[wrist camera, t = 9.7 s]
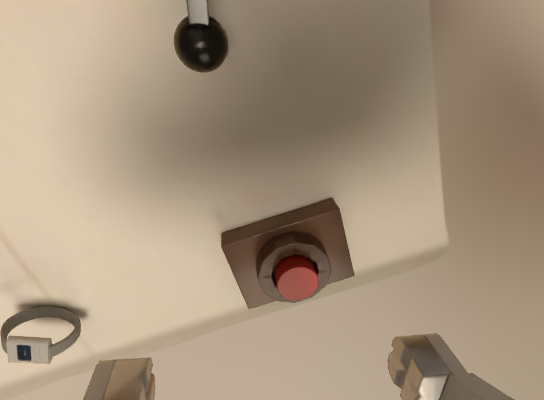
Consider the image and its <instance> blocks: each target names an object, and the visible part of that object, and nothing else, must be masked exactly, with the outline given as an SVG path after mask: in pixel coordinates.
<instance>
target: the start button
mask: <svg viewBox="0 0 544 400" xmlns="http://www.w3.org/2000/svg"><path fill="white" fill-rule="evenodd" d="M275 279H276V284H277V289H278V291H279V293H280V294H281V295H282V296H283V297H284V298H286V299H289V300H301V299H304V298H307V297H308V296H310V295H311V294H313V293H314V291H315V290H316V288H317V286H318V276H317V273H316V271H315V268H314V266H313V263H312V262H311V261H310V260H309V259H308V258H306V257H304V256H300V255H293V256H289V257H287V258H285V259H283V260H282V261H280V262H279V264H278V265H277V267H276V269H275Z"/></svg>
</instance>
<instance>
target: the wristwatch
mask: <svg viewBox="0 0 544 400" xmlns="http://www.w3.org/2000/svg"><path fill="white" fill-rule="evenodd" d="M42 317H54V318H60V319H63V320H66V321H68V322H70V323H71V324H73V326H74V327H75V329H74V330H73V332H72V333H71V334H70V335H68V336H67V337H66V338H65V339H63V340H61V341H60V342H57V343H55V344H53V345H52V341H51V338H39V337H23V336H9V337H8V338H7V335H8V334H9V332H10V331H11V330H12V329H13V328H15V327H16V326H18V325H19V324H21V323H24V322H26V321H29V320H32V319H36V318H42ZM80 332H81V323H80V319H79V317H78V316H77V315H76V314H74V313H73V312H71V311H69V310H66V309H63V308H59V307H53V306H43V307H36V308H31V309H28V310H25V311H22V312H20V313H17V314H15V315H13V316H12V317H10V318H9V319H8V320H6V322H5V323H4V324H3V326H2V328H1V342H2V347H3V349H4V351H5V352H6V353H7V354H8V362H19V363H40V364H50V362H51V360H52V356H55V355H57V354H59V353H61V352H63V351H65V350H66V349H68V348H69V347H70V346H71V345H73V344H74V343H75V342H76V340H77V339H78V337H79V335H80ZM6 338H7V339H6Z"/></svg>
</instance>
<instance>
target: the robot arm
mask: <svg viewBox="0 0 544 400" xmlns="http://www.w3.org/2000/svg"><path fill="white" fill-rule="evenodd" d="M392 346H393V348H394V350H393V351H392V352H391V353H390V354H389V357H388V369H389V373H390V376H391V378H392V380H393V382H394V384H396V385H397V386H398V387H400V388H401V395H400V396H401V398H402V400H514V399H512V398H511V397H509V396H507V395H506V394H504V393H503V392H501V391H500V390H498V389H496V388H494V387H493V386H492V385H490V384H488V383H487V382H485V381H484V380H482V379H481V378H479V377H477V376H476V375H474V374H473V373H468V372H466V370H465V369H464V367H463V366H462V365H461V363H460V362H459V360H458V359H457V358H456V357H455V355H454V354H453V353H452V351H451V350H450V348H449V347H448V346H447V344H446V343H445V342H444V340H443V339H442V338H441V337H440V336H439V335H438V334H437V333H436V334H425V335H421V334H420V335H411V336H400V337H395V338H394V339H393V342H392ZM152 366H153V364H152V360H151V358H134V359H117V360H103V361H99V363H98V364H97V365H96V367H95V370H94V373H93V375H92V378H91V380H90V383H89V385H88V388H87V391H86V393H85V396H84V398H83V400H154V396H155V377H154V375H153V374H152V373H151V371H152Z"/></svg>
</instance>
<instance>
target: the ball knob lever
mask: <svg viewBox="0 0 544 400" xmlns="http://www.w3.org/2000/svg"><path fill="white" fill-rule="evenodd" d="M186 1H187V10H188V16H187V17H185V18H184V19H183V20H182V21H181V22H180V23H179V24H178V26H177V28H176V30H175V34H174V47H175V51H176V54H177V56H178V57H179V59H180V60H181V62H182V63H183V64H184V65H185V66H186V67H188V68H190V69H191V70H194V71H196V72H203V73H204V72H210V71H213V70H215V69H217V68H218V67H219V66H220V65H221V64H222V63H223V62H224V60H225V58H226V56H227V53H228V38H227V35H226V32H225V30H224V28H223V27H222V25H221V24H220V23H219V22H218V21H217V20H216V19H214V18H213V17H211V16H209V3H208V0H186Z"/></svg>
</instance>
